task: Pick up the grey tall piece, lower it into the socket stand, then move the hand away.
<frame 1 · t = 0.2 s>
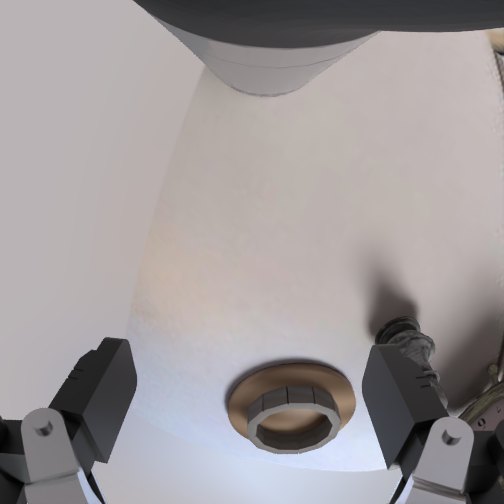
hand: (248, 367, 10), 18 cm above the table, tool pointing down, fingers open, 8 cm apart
socket stand: (292, 407, 35), on the table
tabletop clock: (472, 394, 36), on the table
grey tall piece: (397, 336, 31), on the table
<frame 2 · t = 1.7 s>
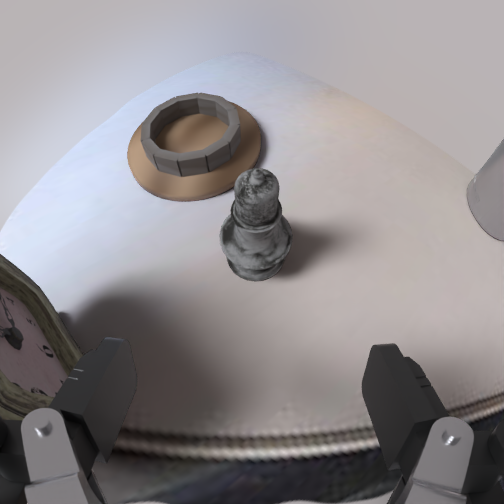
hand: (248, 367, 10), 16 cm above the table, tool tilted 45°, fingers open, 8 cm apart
socket stand: (193, 146, 35), on the table
tabletop clock: (65, 380, 24), on the table
grey tall piece: (255, 254, 30), on the table
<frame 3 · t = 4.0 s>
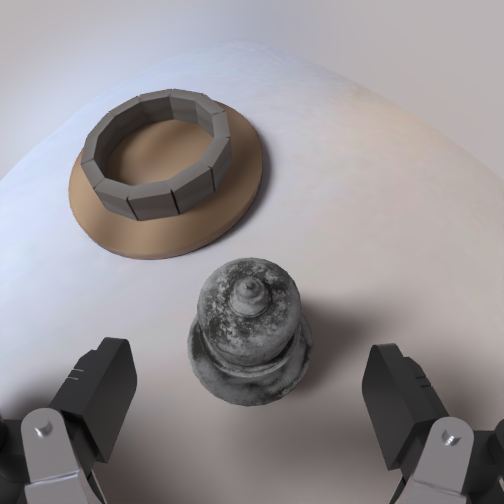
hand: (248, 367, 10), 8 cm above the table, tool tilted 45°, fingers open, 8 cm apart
socket stand: (162, 168, 24), on the table
grey tall piece: (250, 354, 18), on the table
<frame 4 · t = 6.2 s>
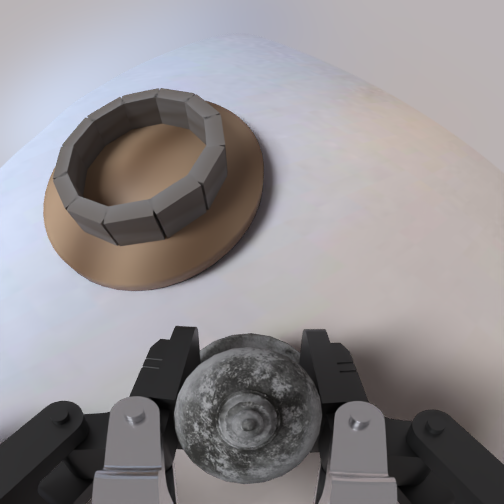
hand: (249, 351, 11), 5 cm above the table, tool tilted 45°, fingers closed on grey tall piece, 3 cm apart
socket stand: (148, 181, 20), on the table
grey tall piece: (249, 403, 15), on the table, touching gripper
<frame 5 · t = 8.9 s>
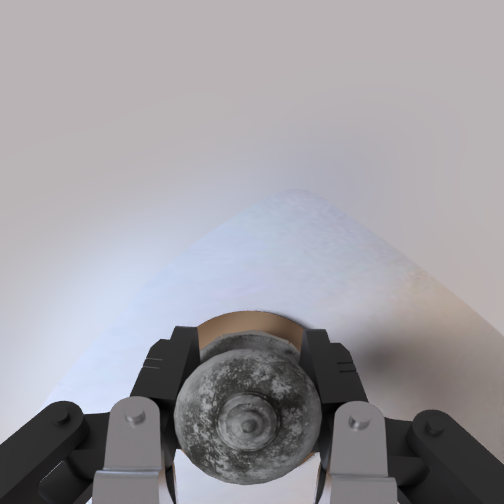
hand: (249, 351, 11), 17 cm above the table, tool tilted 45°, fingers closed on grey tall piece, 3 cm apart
socket stand: (249, 396, 26), on the table
grey tall piece: (249, 403, 15), point 12 cm above the table, touching gripper
when the fingers open (8 cm above the table, at t = 11.6 s): grey tall piece drops 1 cm, resting on socket stand.
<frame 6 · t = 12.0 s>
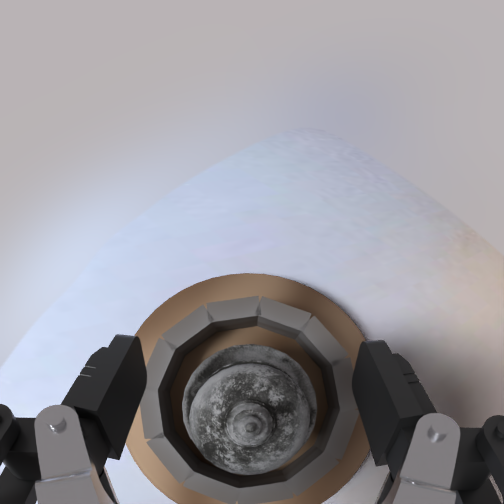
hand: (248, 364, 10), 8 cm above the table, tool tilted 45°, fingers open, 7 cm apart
socket stand: (248, 402, 17), on the table
grey tall piece: (249, 406, 16), point 1 cm above the table, touching socket stand
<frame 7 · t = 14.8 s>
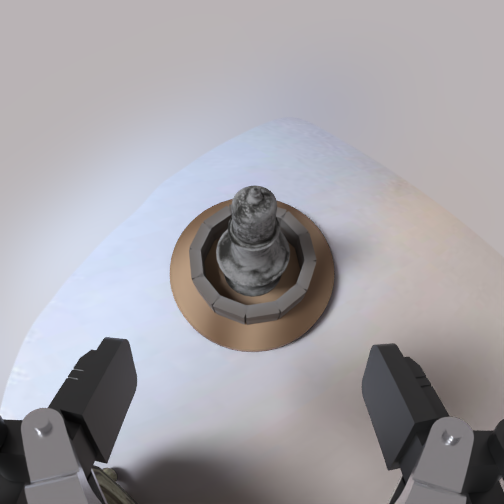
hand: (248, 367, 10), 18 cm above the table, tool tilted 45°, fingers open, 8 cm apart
socket stand: (252, 271, 30), on the table
grey tall piece: (252, 269, 29), point 1 cm above the table, touching socket stand
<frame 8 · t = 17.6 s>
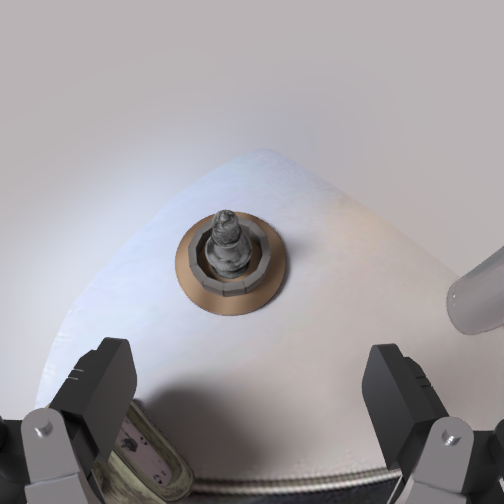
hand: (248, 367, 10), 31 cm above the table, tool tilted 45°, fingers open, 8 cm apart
socket stand: (230, 262, 45), on the table
tabletop clock: (142, 447, 34), on the table
grey tall piece: (230, 261, 44), point 1 cm above the table, touching socket stand
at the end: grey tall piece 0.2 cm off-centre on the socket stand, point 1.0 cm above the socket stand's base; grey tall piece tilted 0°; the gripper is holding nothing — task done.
